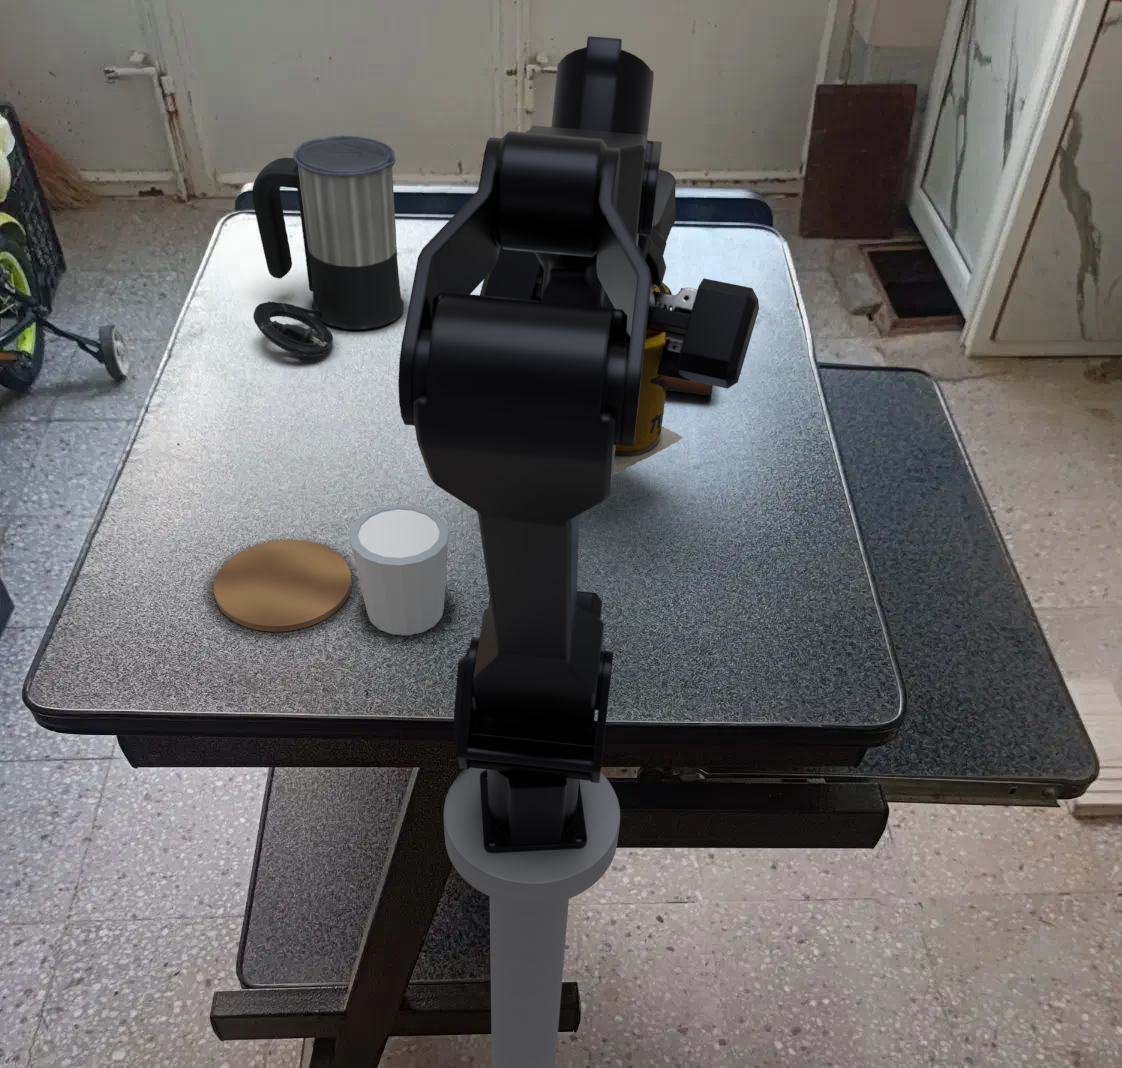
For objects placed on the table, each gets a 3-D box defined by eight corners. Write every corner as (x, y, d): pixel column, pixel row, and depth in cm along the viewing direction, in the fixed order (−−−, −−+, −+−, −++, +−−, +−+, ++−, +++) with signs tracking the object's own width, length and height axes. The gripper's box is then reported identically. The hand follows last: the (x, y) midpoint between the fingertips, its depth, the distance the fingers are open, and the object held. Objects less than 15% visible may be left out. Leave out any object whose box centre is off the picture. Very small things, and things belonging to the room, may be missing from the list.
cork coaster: (349, 629, 78) (348, 623, 78) (207, 634, 77) (205, 628, 77) (354, 543, 85) (353, 537, 84) (223, 547, 84) (221, 540, 83)
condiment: (683, 439, 87) (703, 291, 78) (610, 479, 83) (622, 327, 74) (617, 403, 90) (629, 257, 81) (543, 440, 86) (548, 290, 77)
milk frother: (404, 288, 114) (394, 133, 103) (408, 364, 103) (397, 202, 92) (266, 290, 112) (240, 133, 101) (255, 368, 102) (225, 203, 91)
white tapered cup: (408, 654, 77) (401, 577, 71) (338, 613, 79) (327, 535, 74) (471, 605, 80) (469, 528, 75) (402, 567, 83) (396, 490, 78)
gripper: (781, 163, 65) (783, 272, 80) (491, 112, 68) (546, 226, 84) (728, 348, 65) (740, 421, 81) (444, 287, 69) (507, 368, 84)
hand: (633, 354), depth 82 cm, fingers closed on condiment, 6 cm apart
